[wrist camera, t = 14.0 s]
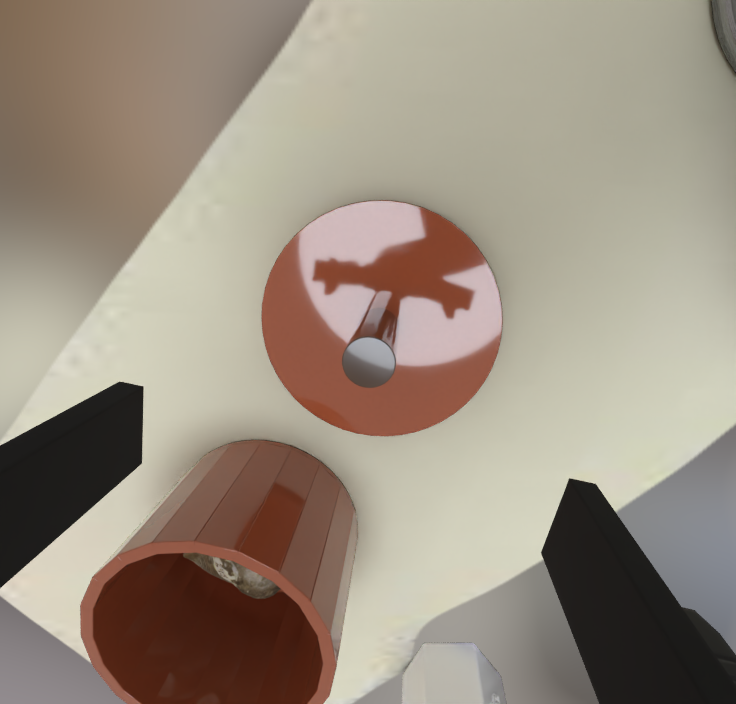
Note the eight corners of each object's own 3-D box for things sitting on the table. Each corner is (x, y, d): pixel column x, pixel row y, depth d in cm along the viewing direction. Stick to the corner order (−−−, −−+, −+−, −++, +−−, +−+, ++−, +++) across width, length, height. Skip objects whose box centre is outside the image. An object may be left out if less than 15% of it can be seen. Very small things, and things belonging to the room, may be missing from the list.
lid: (530, 228, 28) (584, 230, 19) (464, 449, 33) (484, 529, 24) (282, 178, 28) (227, 158, 20) (254, 403, 33) (200, 465, 24)
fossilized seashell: (296, 486, 31) (186, 489, 34) (274, 585, 27) (150, 580, 30) (334, 522, 37) (235, 523, 40) (320, 610, 32) (211, 603, 35)
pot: (374, 463, 34) (357, 578, 23) (340, 611, 38) (312, 766, 27) (184, 421, 34) (78, 514, 23) (174, 572, 39) (81, 709, 28)
